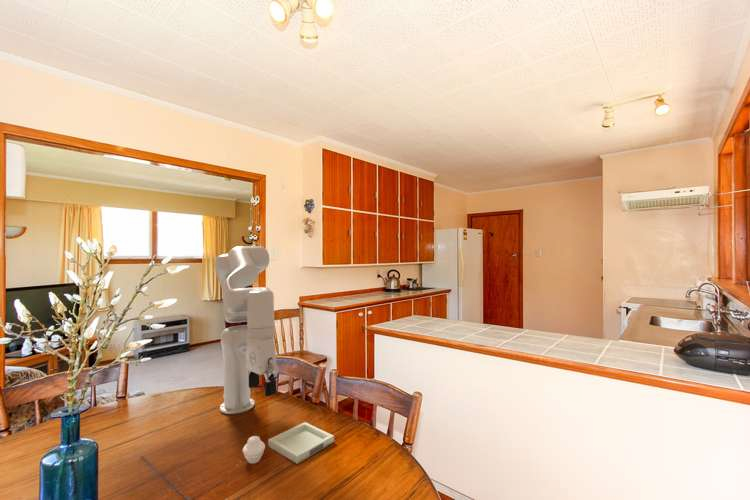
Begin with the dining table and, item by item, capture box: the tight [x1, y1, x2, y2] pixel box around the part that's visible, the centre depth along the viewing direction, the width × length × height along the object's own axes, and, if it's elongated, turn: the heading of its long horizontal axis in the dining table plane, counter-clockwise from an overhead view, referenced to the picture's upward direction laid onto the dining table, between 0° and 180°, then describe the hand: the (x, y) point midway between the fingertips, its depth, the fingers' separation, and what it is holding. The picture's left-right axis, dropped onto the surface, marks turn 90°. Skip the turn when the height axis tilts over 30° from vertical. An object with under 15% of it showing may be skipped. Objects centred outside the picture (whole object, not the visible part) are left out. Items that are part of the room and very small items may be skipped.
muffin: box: [242, 435, 266, 464], centre depth 103 cm, size 6×6×7 cm
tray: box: [267, 421, 335, 464], centre depth 111 cm, size 15×14×2 cm
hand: (262, 390), depth 104 cm, fingers open, 9 cm apart
